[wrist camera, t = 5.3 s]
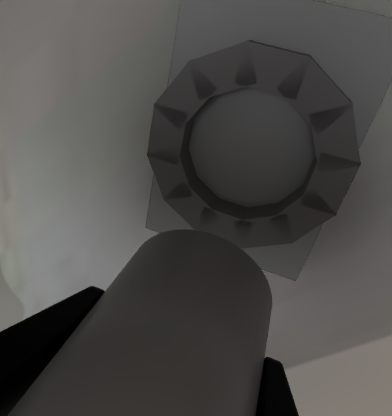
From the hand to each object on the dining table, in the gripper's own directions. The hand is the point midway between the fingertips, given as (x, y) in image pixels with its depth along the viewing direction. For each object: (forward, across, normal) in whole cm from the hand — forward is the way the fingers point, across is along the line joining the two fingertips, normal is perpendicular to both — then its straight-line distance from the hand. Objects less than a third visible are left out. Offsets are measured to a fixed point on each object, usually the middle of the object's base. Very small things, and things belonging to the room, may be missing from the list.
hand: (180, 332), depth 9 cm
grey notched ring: (+12, 0, -1) cm, 12 cm away
